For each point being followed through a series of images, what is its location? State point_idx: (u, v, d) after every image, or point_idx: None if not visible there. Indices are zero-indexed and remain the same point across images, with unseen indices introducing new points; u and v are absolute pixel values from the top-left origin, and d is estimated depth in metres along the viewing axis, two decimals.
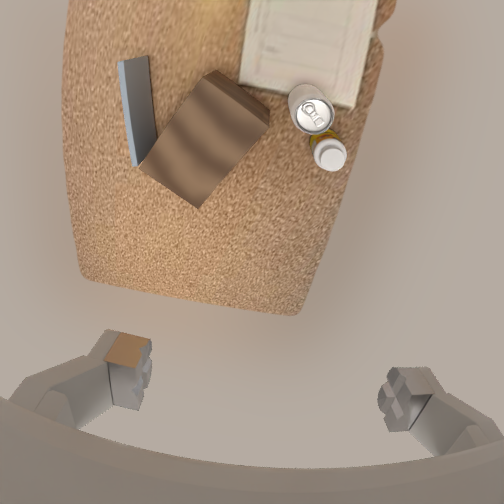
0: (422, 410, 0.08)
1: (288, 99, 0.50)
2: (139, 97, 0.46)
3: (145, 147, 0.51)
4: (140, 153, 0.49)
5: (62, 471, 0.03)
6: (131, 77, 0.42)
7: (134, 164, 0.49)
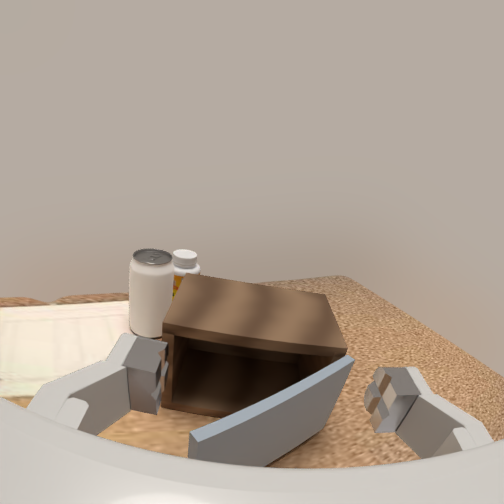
0: (408, 411, 0.08)
1: (155, 328, 0.44)
2: None
3: None
4: None
5: (62, 471, 0.03)
6: None
7: (350, 358, 0.29)
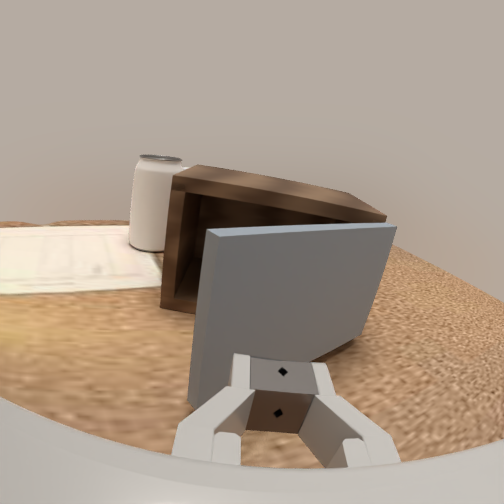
0: (308, 412, 0.08)
1: (158, 238, 0.40)
2: None
3: None
4: None
5: (62, 471, 0.03)
6: None
7: (391, 225, 0.25)
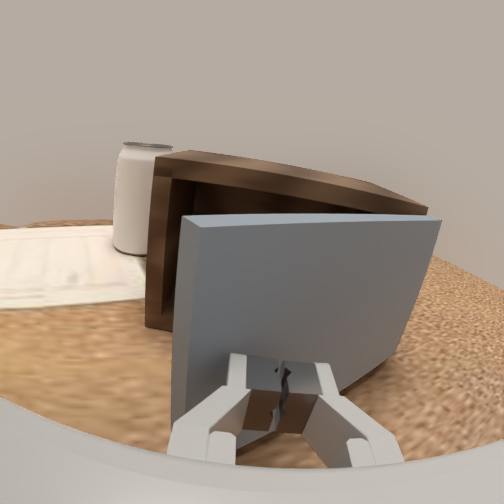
0: (311, 412, 0.08)
1: (146, 239, 0.33)
2: None
3: None
4: None
5: (62, 471, 0.03)
6: None
7: (435, 218, 0.19)
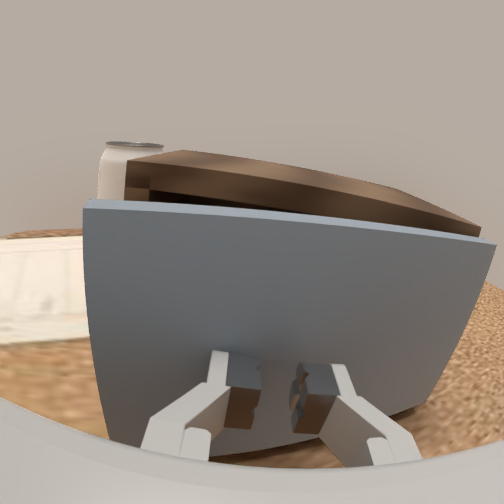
0: (328, 413, 0.08)
1: None
2: None
3: None
4: None
5: (62, 471, 0.03)
6: None
7: (489, 241, 0.13)
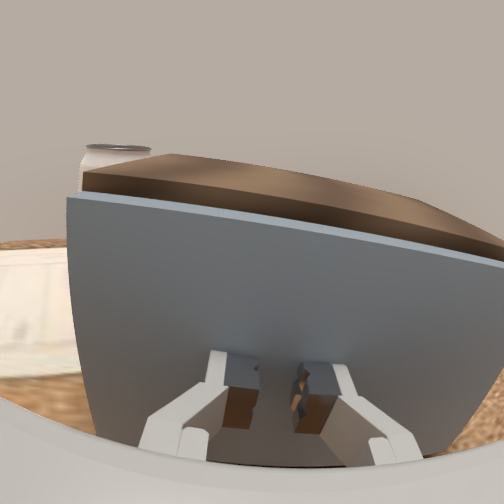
0: (330, 413, 0.08)
1: None
2: None
3: None
4: None
5: (62, 471, 0.03)
6: None
7: None
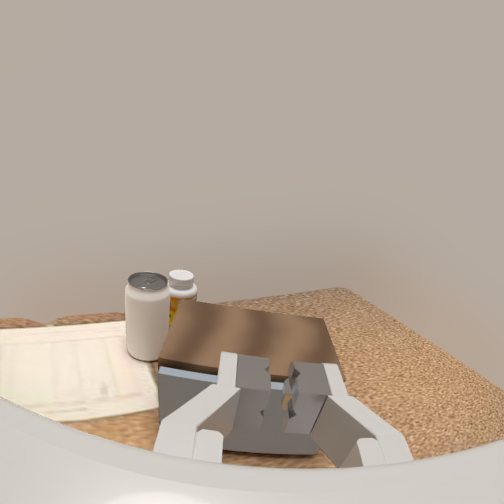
0: (320, 413, 0.08)
1: (153, 352, 0.43)
2: None
3: None
4: None
5: (62, 471, 0.03)
6: None
7: None
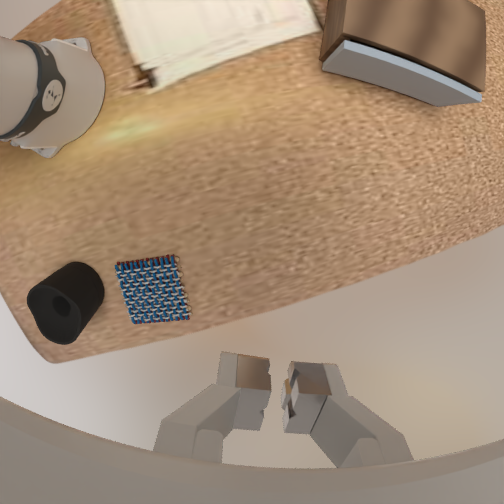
0: (320, 413, 0.08)
1: None
2: None
3: None
4: None
5: (62, 471, 0.03)
6: None
7: (479, 98, 0.26)
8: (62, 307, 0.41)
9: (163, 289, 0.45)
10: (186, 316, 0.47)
